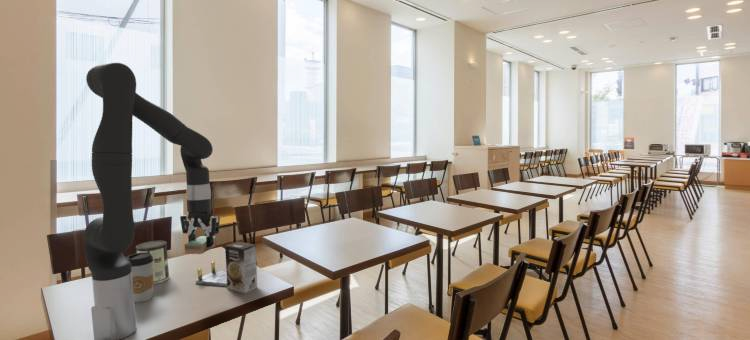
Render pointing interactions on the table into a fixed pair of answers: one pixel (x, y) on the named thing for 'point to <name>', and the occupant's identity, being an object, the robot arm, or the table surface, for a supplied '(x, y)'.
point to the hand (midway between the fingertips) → (201, 246)
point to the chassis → (212, 277)
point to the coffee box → (241, 266)
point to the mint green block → (198, 245)
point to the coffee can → (157, 259)
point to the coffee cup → (142, 275)
